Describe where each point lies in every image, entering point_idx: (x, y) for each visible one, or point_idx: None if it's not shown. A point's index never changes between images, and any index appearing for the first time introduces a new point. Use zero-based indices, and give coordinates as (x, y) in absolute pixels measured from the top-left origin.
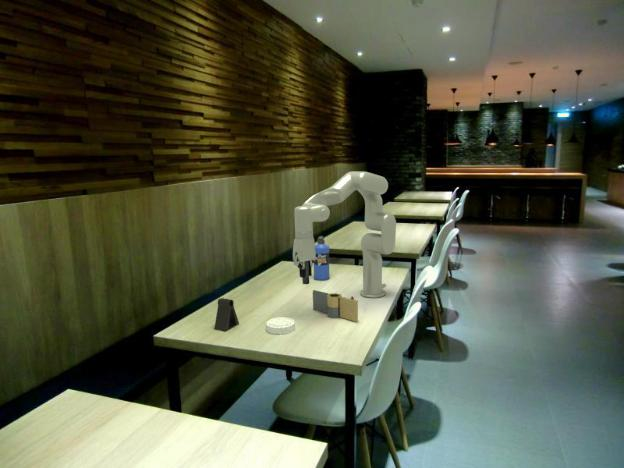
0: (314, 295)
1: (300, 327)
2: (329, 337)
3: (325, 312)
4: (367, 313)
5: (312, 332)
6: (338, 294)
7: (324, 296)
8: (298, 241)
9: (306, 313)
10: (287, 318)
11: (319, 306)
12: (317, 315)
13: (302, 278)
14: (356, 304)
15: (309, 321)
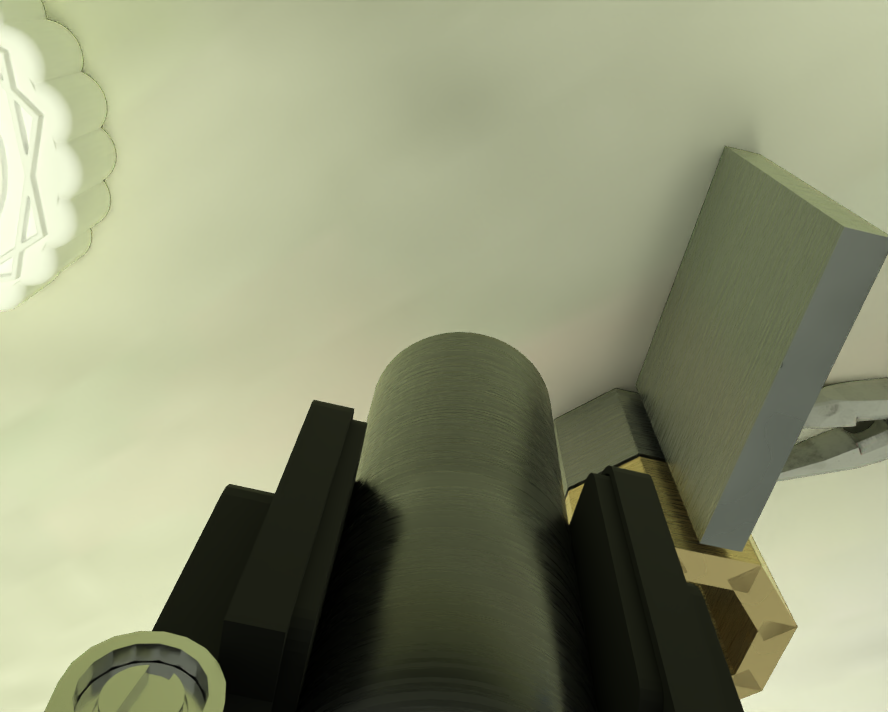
0: (791, 242)
1: (117, 311)
2: (96, 631)
3: (650, 357)
4: (799, 688)
5: (90, 473)
6: (747, 665)
7: (712, 458)
8: None
9: (557, 135)
10: (25, 164)
11: (702, 285)
12: (547, 298)
13: (374, 433)
14: None
15: (325, 310)
